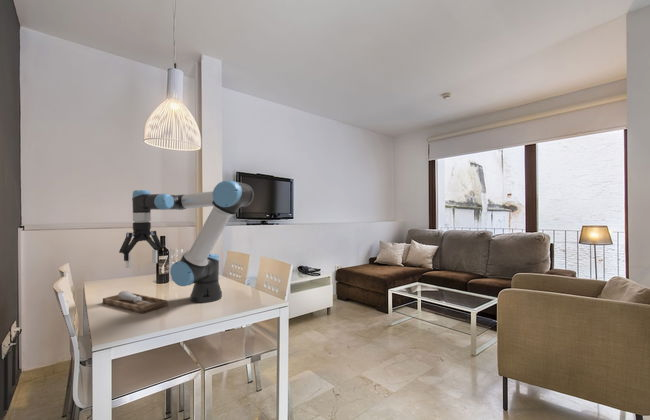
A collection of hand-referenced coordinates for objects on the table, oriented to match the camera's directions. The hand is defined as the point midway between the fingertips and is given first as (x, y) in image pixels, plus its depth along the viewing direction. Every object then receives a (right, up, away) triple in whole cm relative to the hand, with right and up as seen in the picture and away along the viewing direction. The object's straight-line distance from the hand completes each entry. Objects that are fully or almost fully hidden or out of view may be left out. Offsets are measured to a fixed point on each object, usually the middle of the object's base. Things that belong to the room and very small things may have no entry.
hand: (142, 265), depth 146 cm
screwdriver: (-1, -17, -4) cm, 18 cm away
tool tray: (-1, -18, -4) cm, 19 cm away
